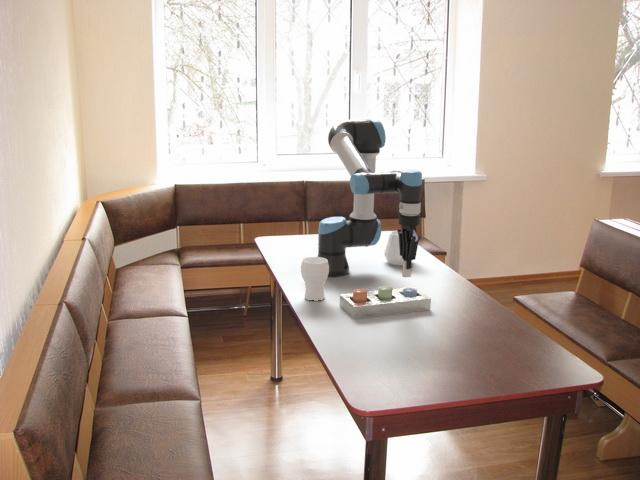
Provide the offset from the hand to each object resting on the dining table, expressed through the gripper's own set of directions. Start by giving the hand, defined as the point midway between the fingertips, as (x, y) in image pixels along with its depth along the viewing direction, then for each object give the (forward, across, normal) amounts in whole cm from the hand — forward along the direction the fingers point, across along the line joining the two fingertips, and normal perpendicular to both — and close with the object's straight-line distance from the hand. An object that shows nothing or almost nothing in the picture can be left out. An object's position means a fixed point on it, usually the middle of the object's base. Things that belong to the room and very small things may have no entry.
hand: (406, 276), depth 244 cm
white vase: (+12, -52, +24) cm, 58 cm away
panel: (+11, 0, -8) cm, 14 cm away
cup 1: (+12, -18, -29) cm, 36 cm away
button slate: (+11, 0, +2) cm, 11 cm away
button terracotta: (+9, 0, -18) cm, 20 cm away
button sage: (+9, 0, -8) cm, 12 cm away
